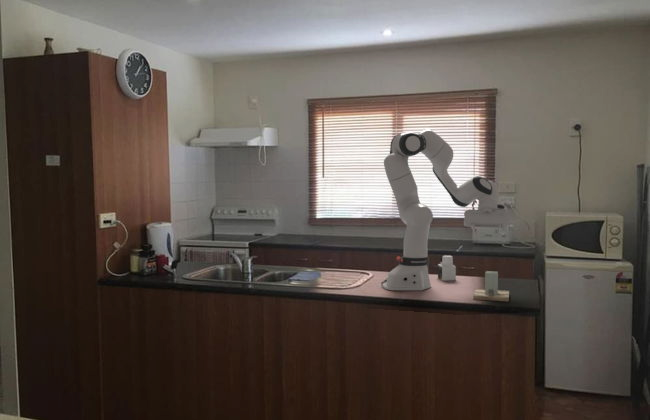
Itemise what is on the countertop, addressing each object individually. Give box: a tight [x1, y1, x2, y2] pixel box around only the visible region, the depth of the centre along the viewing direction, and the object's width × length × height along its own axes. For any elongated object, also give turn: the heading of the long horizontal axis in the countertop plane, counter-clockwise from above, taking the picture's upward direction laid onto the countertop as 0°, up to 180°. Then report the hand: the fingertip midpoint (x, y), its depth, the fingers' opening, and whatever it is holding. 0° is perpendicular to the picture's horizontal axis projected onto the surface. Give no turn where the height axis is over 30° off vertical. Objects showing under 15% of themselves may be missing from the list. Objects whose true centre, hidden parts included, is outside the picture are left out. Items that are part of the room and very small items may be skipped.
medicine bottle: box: [437, 254, 457, 282], centre depth 278 cm, size 7×7×12 cm
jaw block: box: [484, 270, 499, 295], centre depth 238 cm, size 5×5×9 cm
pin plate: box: [473, 288, 510, 302], centre depth 238 cm, size 14×14×4 cm
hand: (485, 233), depth 252 cm, fingers open, 8 cm apart
